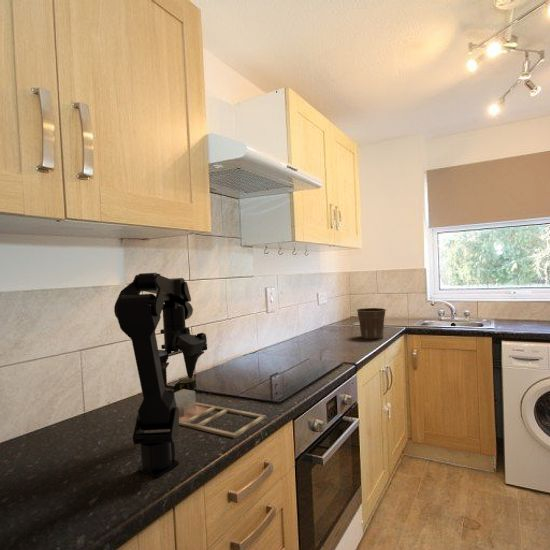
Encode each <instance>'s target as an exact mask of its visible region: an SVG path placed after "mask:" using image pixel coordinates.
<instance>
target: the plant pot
mask: <svg viewBox="0 0 550 550" xmlns="http://www.w3.org/2000/svg"><path fill="white" fill-rule="evenodd" d="M356 311H357V317H358V321H359V322H358V323H359V328H360V338H362V339H365V340H375V339H377V340H379V339H383V338H384V329H385V328H384V327H385V316H386V311H387V310H386V308H379V307H367V308H357V309H356Z"/></svg>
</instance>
